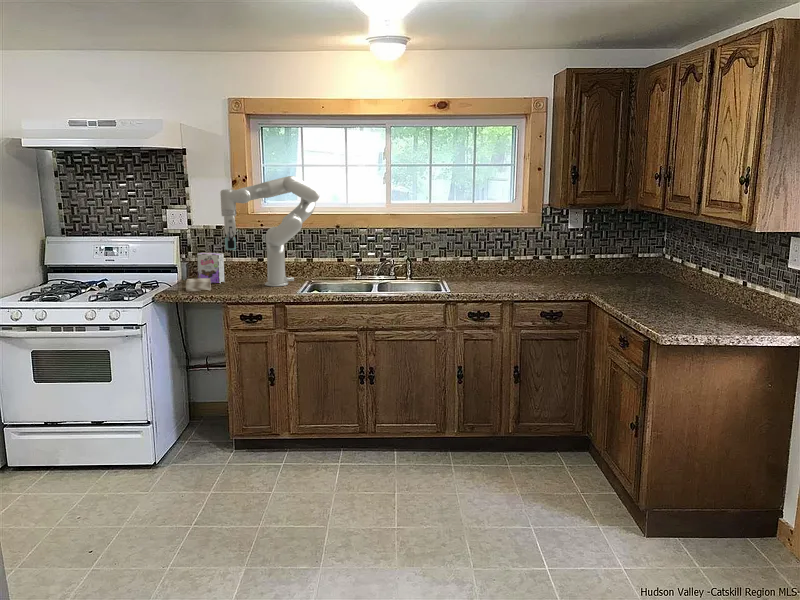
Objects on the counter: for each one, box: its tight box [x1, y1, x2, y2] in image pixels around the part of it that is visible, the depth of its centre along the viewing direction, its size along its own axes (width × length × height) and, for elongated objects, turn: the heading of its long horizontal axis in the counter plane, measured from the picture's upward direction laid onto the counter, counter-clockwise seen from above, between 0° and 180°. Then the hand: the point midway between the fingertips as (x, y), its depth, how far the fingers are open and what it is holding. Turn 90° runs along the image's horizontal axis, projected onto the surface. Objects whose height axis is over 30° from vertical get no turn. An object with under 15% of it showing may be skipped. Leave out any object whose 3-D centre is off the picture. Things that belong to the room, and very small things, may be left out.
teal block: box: [224, 236, 237, 251], centre depth 346 cm, size 5×5×6 cm
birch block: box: [185, 278, 212, 292], centre depth 344 cm, size 12×12×5 cm
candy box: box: [196, 252, 225, 284], centre depth 364 cm, size 14×6×16 cm, turn 73°
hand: (230, 247), depth 346 cm, fingers closed on teal block, 5 cm apart
